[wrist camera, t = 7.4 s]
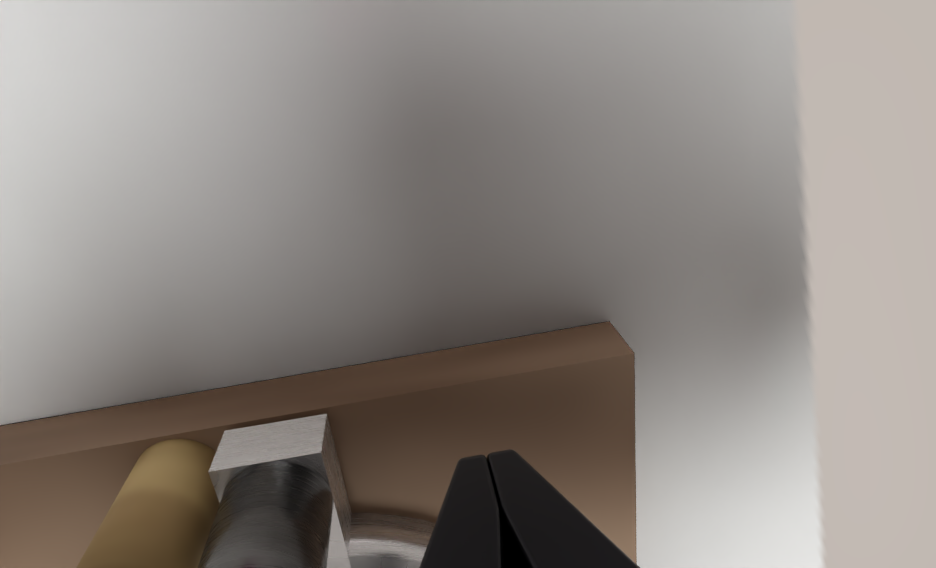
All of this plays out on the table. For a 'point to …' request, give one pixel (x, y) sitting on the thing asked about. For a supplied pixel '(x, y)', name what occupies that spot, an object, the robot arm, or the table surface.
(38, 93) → the table surface
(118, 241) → the table surface
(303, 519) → the flange
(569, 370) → the base plate
